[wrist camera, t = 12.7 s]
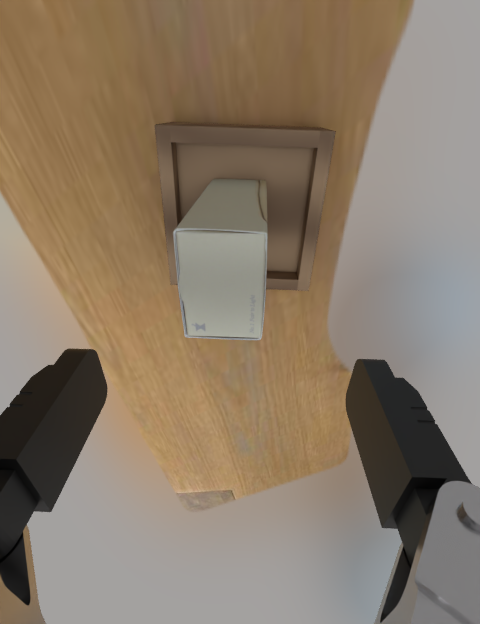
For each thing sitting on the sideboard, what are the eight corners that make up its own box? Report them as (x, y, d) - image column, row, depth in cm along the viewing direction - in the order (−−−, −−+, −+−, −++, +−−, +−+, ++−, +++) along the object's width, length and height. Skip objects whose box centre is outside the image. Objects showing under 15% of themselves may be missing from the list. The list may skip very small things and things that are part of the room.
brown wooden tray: (172, 121, 26) (154, 124, 21) (320, 127, 25) (335, 131, 21) (182, 259, 32) (170, 284, 27) (300, 264, 32) (308, 290, 27)
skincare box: (262, 254, 27) (264, 345, 17) (211, 252, 27) (183, 341, 17) (266, 176, 24) (272, 232, 14) (208, 174, 24) (170, 229, 14)
